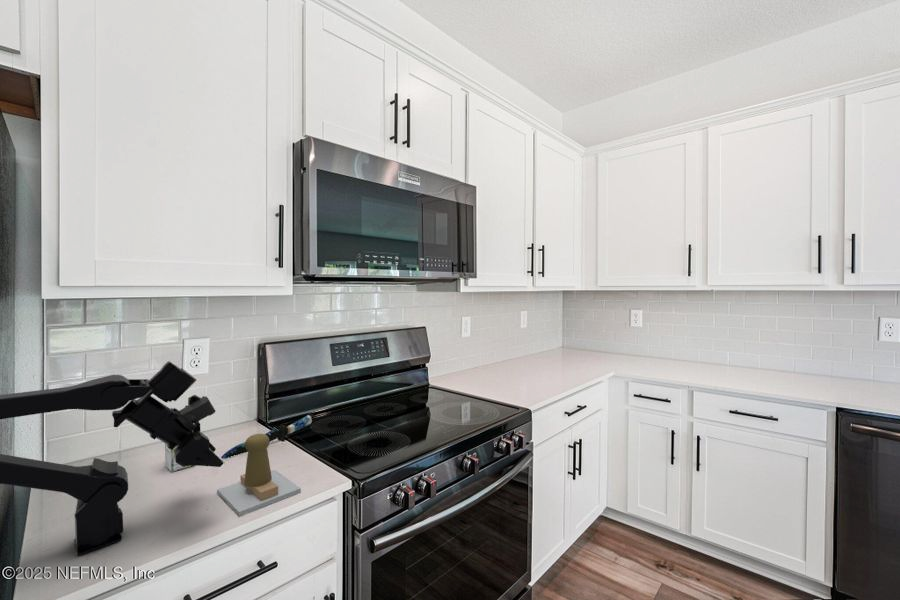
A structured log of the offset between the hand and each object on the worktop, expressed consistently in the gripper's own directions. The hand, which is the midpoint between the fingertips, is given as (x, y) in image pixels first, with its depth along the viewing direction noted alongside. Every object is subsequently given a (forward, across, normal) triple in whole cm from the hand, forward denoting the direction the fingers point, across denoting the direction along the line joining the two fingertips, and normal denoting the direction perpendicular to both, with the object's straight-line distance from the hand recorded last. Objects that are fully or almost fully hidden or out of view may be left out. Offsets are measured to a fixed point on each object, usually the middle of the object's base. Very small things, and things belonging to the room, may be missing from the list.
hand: (218, 457), depth 92 cm
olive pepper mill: (+12, 0, 0) cm, 12 cm away
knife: (+22, +30, -6) cm, 37 cm away
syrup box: (+5, +28, +11) cm, 31 cm away
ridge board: (+14, 0, +2) cm, 14 cm away
